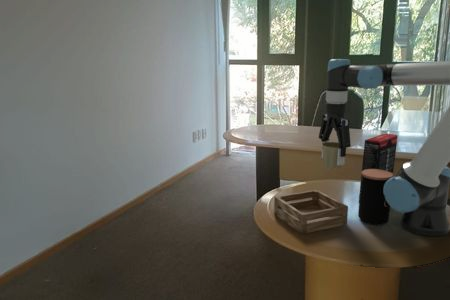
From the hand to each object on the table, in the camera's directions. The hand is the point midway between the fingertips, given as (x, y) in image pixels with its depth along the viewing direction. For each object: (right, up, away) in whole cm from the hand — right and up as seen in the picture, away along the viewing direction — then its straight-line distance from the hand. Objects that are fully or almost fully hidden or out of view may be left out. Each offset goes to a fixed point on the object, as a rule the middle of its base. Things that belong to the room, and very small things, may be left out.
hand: (332, 161), depth 150 cm
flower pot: (0, -2, +1) cm, 2 cm away
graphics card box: (+21, -17, +13) cm, 30 cm away
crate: (-10, -21, -3) cm, 24 cm away
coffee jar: (+14, -22, -5) cm, 26 cm away
